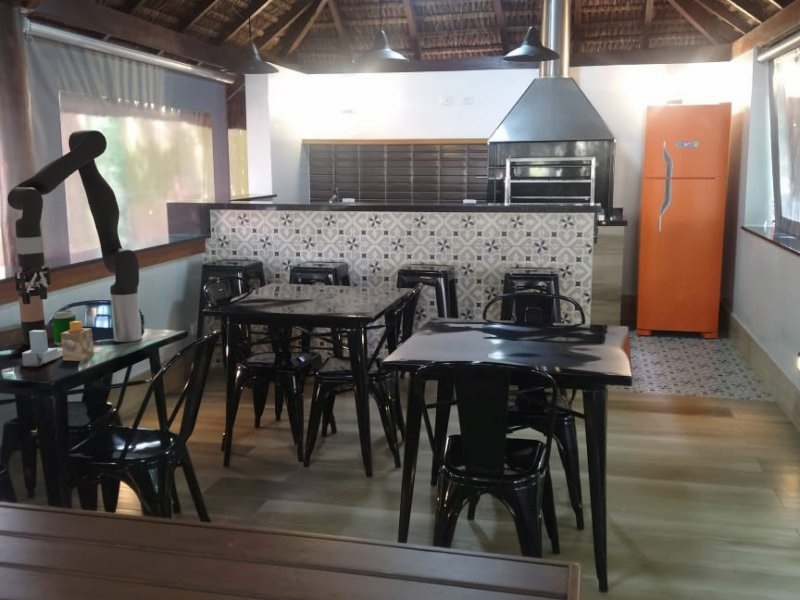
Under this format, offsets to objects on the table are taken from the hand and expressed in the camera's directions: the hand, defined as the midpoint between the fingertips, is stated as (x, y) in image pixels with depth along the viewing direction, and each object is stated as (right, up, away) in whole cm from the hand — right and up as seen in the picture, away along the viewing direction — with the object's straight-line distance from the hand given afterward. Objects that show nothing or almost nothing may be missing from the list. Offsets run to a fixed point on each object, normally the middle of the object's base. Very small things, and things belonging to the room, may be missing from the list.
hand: (35, 301), depth 242 cm
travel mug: (-15, -15, +30) cm, 37 cm away
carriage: (0, -20, +4) cm, 20 cm away
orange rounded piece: (+10, -12, +8) cm, 17 cm away
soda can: (-2, -16, +27) cm, 31 cm away
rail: (+1, -19, +9) cm, 21 cm away
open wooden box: (+10, -19, +9) cm, 23 cm away
